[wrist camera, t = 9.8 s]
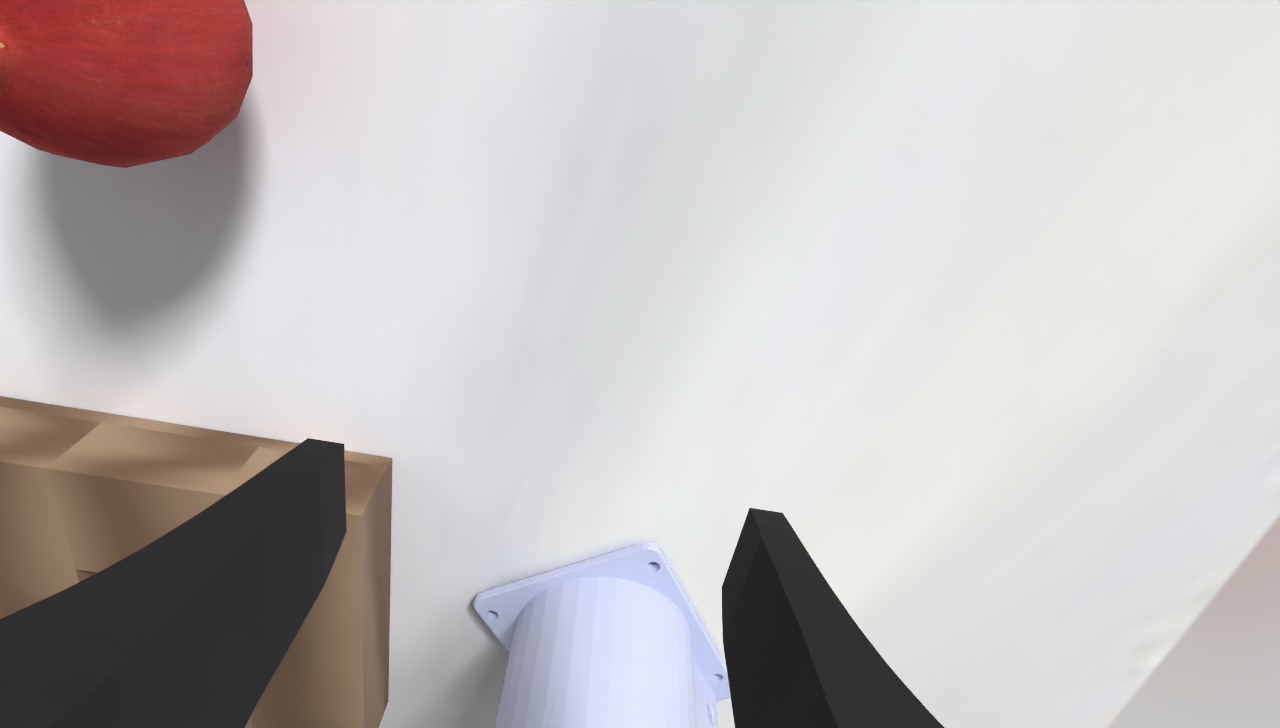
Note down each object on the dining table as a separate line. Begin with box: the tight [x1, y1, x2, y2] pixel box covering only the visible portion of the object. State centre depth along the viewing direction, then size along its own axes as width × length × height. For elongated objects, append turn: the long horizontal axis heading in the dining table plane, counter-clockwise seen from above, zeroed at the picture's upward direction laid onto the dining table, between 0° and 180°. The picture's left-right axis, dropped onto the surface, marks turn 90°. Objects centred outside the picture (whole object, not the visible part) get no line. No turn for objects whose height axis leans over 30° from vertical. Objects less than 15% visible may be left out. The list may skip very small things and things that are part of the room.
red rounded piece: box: [0, 0, 253, 168], centre depth 14 cm, size 6×6×8 cm
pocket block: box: [0, 397, 392, 728], centre depth 27 cm, size 14×14×3 cm
